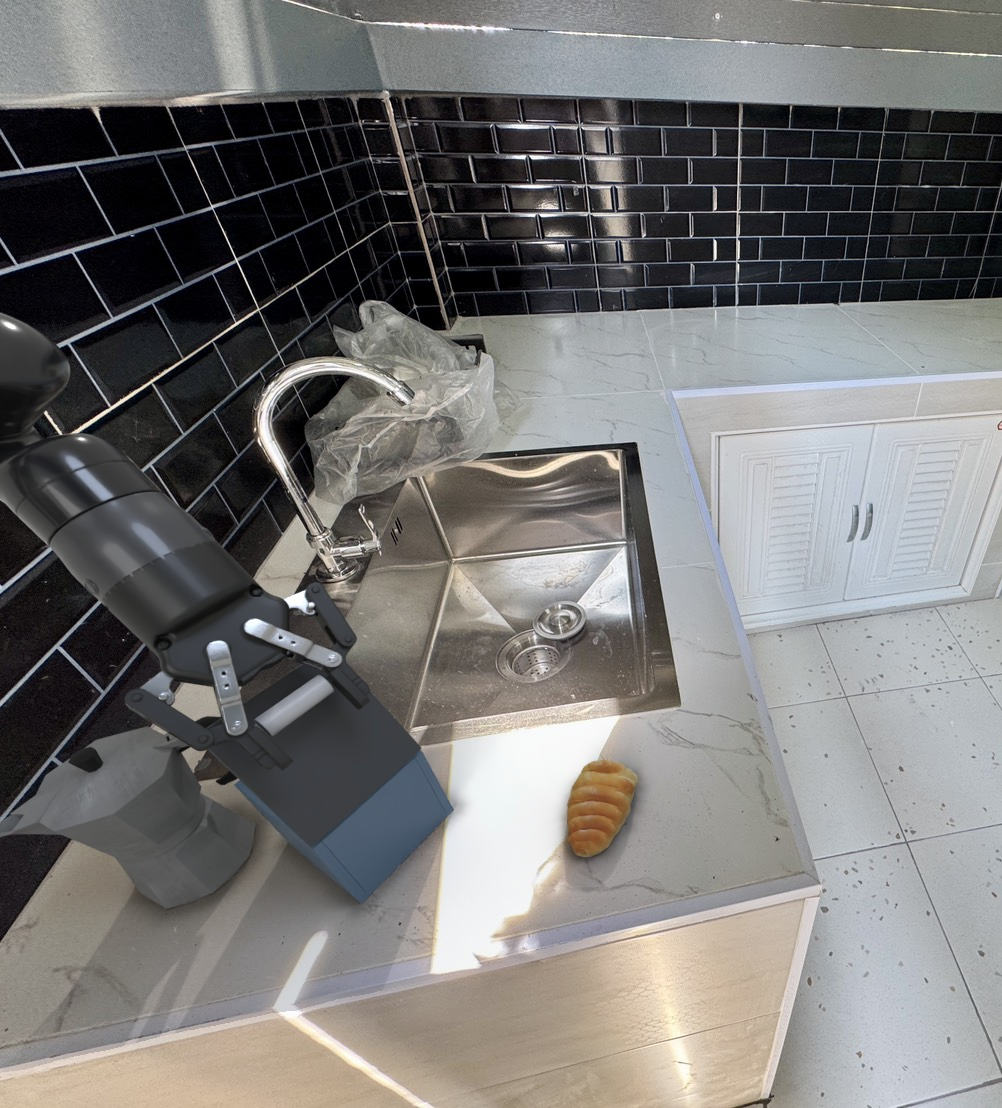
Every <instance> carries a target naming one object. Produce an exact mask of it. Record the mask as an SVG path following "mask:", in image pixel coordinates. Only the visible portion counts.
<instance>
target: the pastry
mask: <svg viewBox="0 0 1002 1108" xmlns="http://www.w3.org/2000/svg"><path fill="white" fill-rule="evenodd" d="M638 784H639V777H638V775H637V774H636V773H635V772H633V770H632V769H630V768H628V767H626V766H625V765H624V764H622V763H620V762H616V761H612V760H608V759H600V760H594V761H591V762H588V763H587V764H586V765H584V766H583V768H582V769H581V772H580V774H579V775H578V777H577V778H576V780H575V782H573V785H572V786H571V791H570V796H569V798H568V801H567V804H566V806H567V808H566V809H567V810H566V816H567V818H566V823H567V841H568V843H569V844H570V847H571V848H572V851H573V852H574V854H575V855H576V856H578V857H582V858H590V857H593V856H597V855H599V854H601V853H602V852H604V851H605V850H607V849H608V848H609V847H610V846H611V843H612V842H613V840H614V838H615V837H616V836H617V834H619V832H620V831H621V828H622V827H623V826H624V825H625V823H626V820H627V818H628V816H629V815H630V813H631V809H632V807H631V804H632V802H633V799H634V796H635V791H636V788H637V785H638Z"/></svg>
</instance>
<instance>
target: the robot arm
mask: <svg viewBox="0 0 1002 1108" xmlns="http://www.w3.org/2000/svg"><path fill="white" fill-rule="evenodd" d="M70 377H71V367H70V362H69V359H68V358H67V356H66V354H65V353H64V352H63V350H62V348H60V346H58V345H57V343H56V342H54V341H53V340H52V339H51V338H50V337H48V336H47V335H46V334H44V333H43V332H41V331H40V330H38V329H37V328H35V327H33V326H31V325H30V324H28V323H26V322H25V321H22V320H20V319H17V318H15V317H13V316H11V315H8V314H6V313H3V312H0V501H1V502H2V503H3V504H5V505H6V506H7V507H8V508H9V509H10V511H12V512H13V513H14V514H15V515H16V517H17V518H19V520H21V522H22V523H24V524H25V526H27V527H28V528H29V529H30V530H31V531H32V532H33V533H34V534H35V535H36V536H37V537H38V538H39V539H40V540H41V541H43V542H44V543H45V544H46V545H47V547H49V548H50V549H51V550H52V551H53V552H54V553H55V555H57V557H58V558H59V560H60V561H61V562H62V563H63V564H64V566H65V568H67V570H68V571H69V573H70V574H71V575H72V576H73V577H74V578H75V579H76V580H77V582H79V583H80V584H81V585H82V586H83V587H84V588H85V589H86V591H87V592H88V593H90V594H91V595H92V596H94V597H95V598H96V600H98V601H99V602H100V603H101V604H102V605H103V607H105V608H106V609H107V610H108V611H109V612H110V613H111V614H112V615H113V616H114V617H115V618H116V619H118V620H119V622H121V624H123V625H124V626H125V627H126V628H127V629H128V630H129V631H130V633H132V634H133V635H134V636H135V637H137V639H139V640H140V642H141V643H143V644H144V645H145V646H146V647H147V648H148V649H149V650H150V651H151V652H152V653H153V654H154V655H155V656H156V657H157V659H158V661H159V667H160V671H159V672H157V674H156V675H154V676H152V677H151V678H150V679H149V680H148V681H146V682H145V683H144V684H143V685H141V686H140V687H139V688H137V687H136V688H133V689H131V690H129V691H127V693H125V694H124V698H123V700H124V704H125V706H126V707H127V708H128V710H129V711H132V713H135V714H136V715H138V716H140V717H141V718H143V719H145V720H146V721H148V722H150V724H153V725H154V726H156V727H158V728H159V729H161V730H162V731H164V732H165V733H166V734H167V733H169V734H170V735H172V736H174V737H175V738H177V739H178V740H180V741H182V742H183V743H185V744H186V745H188V746H190V749H193V750H195V751H197V752H205V751H209V750H208V749H209V748H211V747H214V746H216V745H219V744H222V743H225V742H234V743H236V744H238V745H239V746H240V747H241V748H242V749H243V750H244V751H245V752H246V753H247V754H249V755H250V756H251V757H252V758H253V759H254V760H255V761H256V762H257V763H258V764H259V765H260V766H261V767H262V768H265V769H268V770H271V769H272V768H273V767H274V766H278V767H279V768H280V769H281V770H284V769H285V768H287V767H288V766H289V765H290V764H292V763H293V760H292V759H291V758H290V757H289V756H288V755H287V754H286V753H285V752H284V751H283V750H282V749H281V748H280V747H279V746H278V745H276V744H275V743H274V742H273V741H272V740H271V739H270V738H269V737H268V736H267V735H266V734H265V733H264V732H263V731H262V730H261V729H260V728H259V727H258V726H255V727H254V728H253V727H252V726H251V725H250V724H249V723H248V722H247V719H246V715H245V711H244V707H243V699H242V695H241V690H240V688H243V687H244V686H246V685H247V684H249V683H250V682H252V681H253V680H254V679H255V678H256V677H257V676H258V675H259V674H260V673H261V672H263V671H266V670H268V669H272V668H273V667H275V666H277V665H278V664H279V663H281V662H282V661H284V659H285V660H288V661H291V662H293V663H296V664H300V665H301V664H305V665H307V666H310V667H313V668H315V669H318V670H321V671H324V672H326V673H327V674H328V676H327V677H326V678H327V679H328V680H329V681H330V682H331V683H332V684H333V685H334V686H335V687H336V688H337V689H338V690H339V691H340V692H341V693H342V694H343V695H344V696H345V697H346V698H347V699H348V700H349V701H350V702H351V703H352V704H353V705H354V706H355V707H356V708H357V709H358V710H360V709H361V708H363V707H364V706H365V705H367V704H368V703H369V702H370V699H369V698H368V697H367V696H366V695H367V694H369V693H370V692H371V688H370V686H369V684H368V683H367V682H366V681H364V679H362V677H361V676H359V674H358V673H357V672H356V671H355V670H354V669H353V668H352V667H351V666H350V665H349V664H348V662H347V655H348V654H349V653H350V651H351V650H352V649H353V647H354V645H355V644H356V643H357V641H358V637H357V635H356V633H355V632H354V630H353V629H352V627H351V626H350V624H349V623H348V621H347V619H346V618H345V616H344V615H343V614H342V612H341V610H340V609H339V607H338V606H337V605H336V603H335V601H334V600H333V599H332V597H331V595H330V594H329V592H328V591H327V589H326V587H324V585H323V584H322V583H319V582H311V583H309V584H308V585H307V587H306V589H304V590H302V591H300V592H297V593H295V594H292V595H289V596H287V597H285V598H282V597H280V596H277V595H274V594H272V593H269V592H268V591H267V590H265V588H263V587H262V586H261V585H260V584H259V582H258V581H256V580H255V579H254V577H252V576H251V574H249V573H248V571H246V570H245V569H244V568H243V566H242V565H241V564H240V563H239V562H238V561H237V560H236V559H235V558H234V557H233V556H232V554H230V553H229V552H228V551H227V550H226V549H225V548H224V547H223V546H222V544H220V543H219V542H218V541H217V540H216V539H215V537H214V534H213V533H212V532H211V531H210V530H209V529H208V528H206V527H205V526H203V525H202V524H201V523H199V522H198V520H196V518H194V516H193V515H191V514H190V513H189V512H188V511H186V510H185V509H184V508H183V507H181V506H180V505H179V504H178V503H176V502H175V501H174V500H172V499H171V498H170V497H169V496H168V495H167V494H166V493H165V492H163V491H162V490H161V489H160V487H158V485H157V484H155V482H154V481H152V479H151V478H150V477H149V476H148V475H147V474H146V473H145V472H144V471H143V470H142V469H141V468H140V467H139V466H138V465H137V464H136V463H135V461H133V460H132V459H131V458H130V456H128V455H127V453H125V452H124V451H123V450H122V449H121V448H119V447H118V446H117V445H116V444H114V443H113V442H112V441H110V440H108V439H107V438H104V437H101V436H98V435H96V434H92V433H83V432H74V433H71V432H70V433H64V434H63V433H62V434H57V435H54V436H50V437H49V436H48V437H46V438H44V437H43V436H42V435H41V434H40V433H39V432H38V430H37V429H36V427H35V426H34V425H36V423H37V422H38V421H39V420H40V419H41V417H42V416H43V415H44V414H45V413H46V411H47V410H48V409H49V408H50V407H51V405H53V403H54V402H55V401H56V400H57V398H59V396H60V395H61V394H62V392H63V391H64V390H65V389H66V388H67V385H68V383H69V380H70ZM291 611H293V612H299V613H300V614H301V616H303V617H306V618H312V617H314V618H315V620H316V621H317V623H318V625H319V626H320V628H321V629H322V630H323V632H324V633H325V635H326V636H327V638H328V640H329V641H330V643H331V644H332V647H330V648H331V650H329V649H327V648H326V647H324V646H322V645H319V644H317V643H315V642H314V641H313V640H310V639H308V638H306V637H303V636H300V635H298V634H295V633H292V632H291ZM173 682H177V683H184V684H190V685H197V686H203V687H210V688H212V689H213V693H214V697H215V700H216V705H217V708H218V712H219V715H220V717H221V719H222V723H223V724H220V725H217V726H214V727H211V728H209V729H206V728H205V727H203V726H202V725H200V724H198V723H197V722H195V721H196V720H194V719H193V718H191V717H189V716H188V715H186V714H185V713H183V712H181V711H180V710H178V709H177V708H175V707H174V706H173V705H174V703H176V695H175V692H174V691H172V690H171V686H172V684H173ZM371 693H372V692H371Z"/></svg>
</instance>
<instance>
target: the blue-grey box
mask: <svg viewBox="0 0 1002 1108" xmlns="http://www.w3.org/2000/svg"><path fill="white" fill-rule="evenodd" d="M233 786H234V787H235V788H236V790H238V791H239V792H240V793H241V795H243V797H245V799H246V800H247V801H248V802H249V804H251V805H252V806H253V807H254V808H255V809H256V810H257V811H258V813H260V815H261V816H262V817H263V818H264V819H265V821H267V822H268V823H269V824H270V825H271V826H272V828H274V829H275V831H276V832H277V833H278V834H279V835H280V836H281V837H282V838H283V840H285V842H287V843H288V844H289V845H290V846H292V847H293V848H294V849H295V850H297V852H299V853H300V854H301V855H302V856H303V857H304V858H306V859H307V860H308V861H309V862H310V863H312V864H313V865H314V866H316V867H317V868H318V869H319V870H320V871H322V872H323V873H324V874H325V875H326V876H327V877H328V878H330V879H331V880H332V881H334V883H336V884H337V885H338V886H339V887H341V888H342V889H343V890H344V891H345V892H346V893H348V894H349V895H350V896H351V897H353V898H354V899H355V900H356V901H357V902H359V903H360V904H361V905H362V904H364V902H365V901H366V900H367V899H368V898H369V897H370V896H371V895H372V894H373V893H374V892H375V891H377V889H378V888H380V886H381V885H382V884H383V883H384V882H385V881H386V880H387V879H388V878H389V877H390V876H391V875H392V874H393V873H394V872H395V871H396V870H397V869H398V867H400V865H402V864H403V862H404V861H405V860H406V859H407V858H408V857H410V855H412V853H413V852H414V851H415V850H416V849H417V848H418V847H419V846H420V845H421V844H422V843H423V842H424V841H425V840H426V839H427V838H428V837H429V836H430V835H431V834H432V833H433V832H434V831H435V830H436V829H437V828H438V827H439V826H440V825H441V824H442V823H443V822H444V821H445V820H446V818H447V817H448V816H449V815H451V814H452V813H453V811H455V809H454V807H453V806H452V804H451V802H450V800H449V797H448V796H447V795H446V793H445V791H444V789H443V786H442V785H441V783H440V782H439V779H438V777H437V776H436V774H435V772H434V770H433V768H432V766H431V765H430V763H429V761H428V759H427V757H426V755H425V754H424V752H423V750H422V749H421V750H420V751H419V752H418V753H416V754H415V755H414V756H413V757H412V758H411V759H410V760H409V761H407V762H406V763H405V764H404V765H403V766H402V767H401V768H400V769H399V770H397V771H396V772H395V773H394V774H393V775H392V776H391V777H390V778H389V779H387V780H386V781H385V782H384V783H383V784H382V785H381V786H380V787H378V788H377V789H376V790H375V791H374V792H373V793H372V794H371V795H370V796H368V797H367V798H366V799H365V800H364V801H363V802H362V803H361V804H359V805H358V806H357V807H356V808H355V809H354V810H353V811H352V812H351V813H349V814H348V815H347V816H346V817H345V818H344V819H343V820H342V821H341V822H339V823H338V824H337V825H336V826H335V827H334V828H333V829H332V830H330V831H329V832H328V833H327V834H326V835H325V836H324V837H323V838H322V839H320V840H319V841H318V842H317V843H316V844H315V845H314V846H313V847H309V846H308V845H307V844H306V843H305V842H304V841H303V840H302V839H301V838H300V837H299V836H298V835H297V834H296V833H294V832H293V831H292V830H291V829H290V828H289V827H288V826H287V825H286V824H285V823H284V822H283V821H282V820H281V819H280V818H279V817H278V816H277V815H276V814H275V813H274V812H273V811H271V810H270V809H269V808H268V807H267V806H266V805H265V804H264V803H263V802H262V801H261V800H260V799H259V798H258V797H257V796H256V795H255V794H254V793H253V792H252V791H251V790H250V789H248V788H247V787H246V786H245V785H244V784H243V783H242V782H241V781H240V780H239V779H238V780H237V781H236V782H235V783H233Z"/></svg>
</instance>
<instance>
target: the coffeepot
mask: <svg viewBox="0 0 1002 1108" xmlns="http://www.w3.org/2000/svg"><path fill="white" fill-rule="evenodd" d="M219 719H221V716H212V715H211V716H210V715H206V716H203V717H201V718H198V719H197V720H194V721H195V722H197V723H198V724H200V725H202V726H203V727H205V728H207V727H209V726H210V725H212V724H213V723H215V722H216V721H218V720H219ZM188 749H191V747H190V746H188V745H186V744H185V743H183V742H182V741H180V740H178V739H177V738H175V737H174V736H172V735H170V734H169V733H167V732H166V733H165V734H164V733H162V732H160V731H158V730H156V729H154V728H152V727H150V726H143V727H140V728H136V729H132V730H128V731H124V732H120V733H117V734H113V735H109V736H106V737H102V738H98V739H95V740H93V742H91V743H90V744H88V745H87V746H85V747H84V748H81V749H79V750H77V751H76V752H74V753H73V754H72V755H70V758H68V759H66V761H64V762H62V763H61V764H60V765H57V766H56V767H55V768H54V769H52V770H51V771H49V772H48V773H47V774H45V776H44V778H43V779H42V782H41V784H40V785H39V787H38V789H37V791H36V794H35V795H34V796H33V797H31V798H30V799H28V800H27V801H26V802H24V803H23V804H21V805H20V806H19V807H17V808H16V809H15V810H13V811H12V812H10V813H9V816H8V817H6V818H4V819H3V820H2V821H1V823H0V838H4V837H7V836H12V835H53V836H54V835H57V836H59V835H60V836H62V837H63V836H64V838H65V837H66V838H68V839H70V840H72V841H75V842H77V843H80V844H82V845H84V846H87V847H89V848H91V849H94V850H96V851H99V852H102V853H103V854H106V855H108V856H110V857H113V858H115V860H116V861H117V862H118V864H119V865H120V867H121V868H122V870H123V871H124V873H125V874H126V875H127V876H128V878H129V879H130V881H131V882H132V883H133V885H134V886H135V888H136V889H137V891H138V892H139V893H140V894H141V895H142V896H144V897H145V898H147V899H149V900H151V901H152V902H154V903H156V904H157V905H158V906H160V907H162V908H164V909H165V910H167V909H168V910H169V909H172V908H175V907H180V906H182V905H187V904H190V903H193V902H196V901H198V900H200V899H203V898H205V897H206V896H208V895H211V894H214V893H215V892H216V891H217V890H218V889H219V888H221V887H223V886H224V885H226V883H227V882H228V881H230V879H231V878H233V877H234V875H235V874H237V873H238V871H239V870H240V869H241V868H242V867H243V865H244V864H245V863H246V861H247V860H248V859H249V858H250V856H251V853H252V849H253V846H254V843H255V829H256V823H254V822H253V821H251V820H249V819H247V818H246V817H244V816H242V815H240V814H238V813H236V812H235V811H233V810H232V809H229V807H226V806H225V805H223V804H221V803H220V802H218V801H215V799H212V798H210V797H208V796H207V795H205V794H204V793H202V792H201V791H202V790H201V789H202V785H201V784H200V782H199V780H198V778H197V777H196V775H195V773H194V772H193V770H192V768H191V766H190V765H189V763H188V762H187V760H186V757H185V756H184V754H183V752H184V751H186V750H188ZM235 780H239V779H238V778H237V777H236V776H235V775H234V774H233V773H232V772H231V771H230V770H229V769H228V771H227V772H226V773H225V774H224V775H222V776H221V777H219V778H217V779H216V780H215V782H216V784H218V786H219V785H220V786H225V785H228V784H230V783H232V782H234V781H235Z"/></svg>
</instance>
